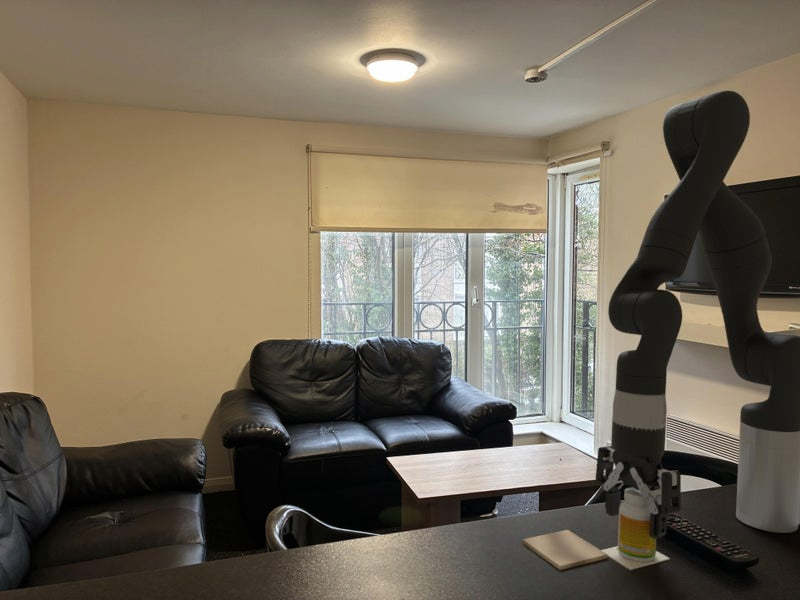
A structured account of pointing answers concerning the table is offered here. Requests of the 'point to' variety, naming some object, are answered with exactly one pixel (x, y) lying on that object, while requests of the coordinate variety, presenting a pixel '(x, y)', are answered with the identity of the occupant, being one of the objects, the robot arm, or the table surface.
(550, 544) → the oak coaster
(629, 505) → the supplement bottle
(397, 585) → the table surface
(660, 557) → the tile
